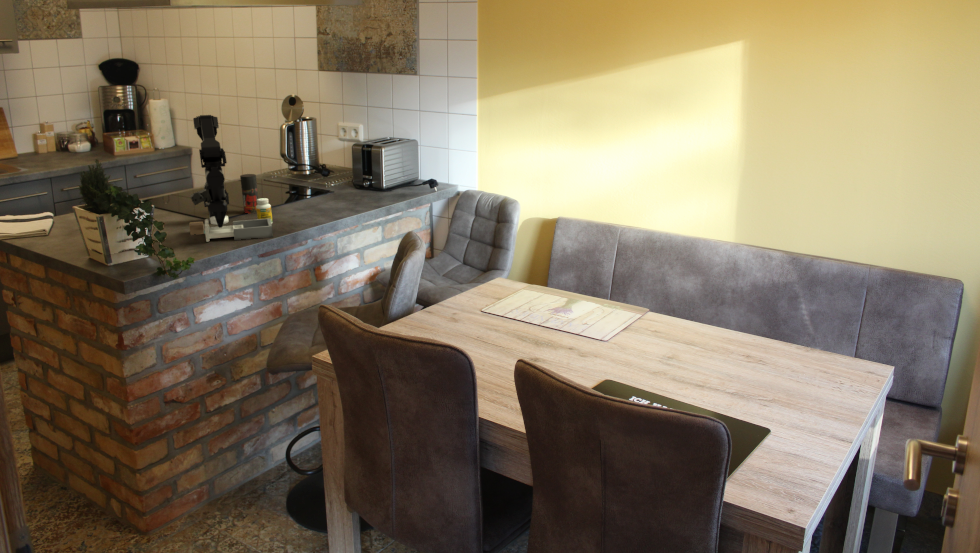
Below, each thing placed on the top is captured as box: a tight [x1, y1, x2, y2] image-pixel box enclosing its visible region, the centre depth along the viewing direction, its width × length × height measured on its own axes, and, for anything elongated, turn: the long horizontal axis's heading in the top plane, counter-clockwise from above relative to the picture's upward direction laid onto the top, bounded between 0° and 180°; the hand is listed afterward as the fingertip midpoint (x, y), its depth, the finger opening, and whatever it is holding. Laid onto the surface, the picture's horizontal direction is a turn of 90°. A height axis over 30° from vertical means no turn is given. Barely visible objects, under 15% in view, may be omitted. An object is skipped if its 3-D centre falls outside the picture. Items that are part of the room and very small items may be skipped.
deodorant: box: [240, 173, 259, 215], centre depth 291 cm, size 6×6×15 cm
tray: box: [203, 218, 243, 242], centre depth 258 cm, size 12×13×5 cm
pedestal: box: [188, 221, 205, 236], centre depth 263 cm, size 4×4×4 cm
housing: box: [232, 218, 274, 241], centre depth 261 cm, size 12×13×4 cm
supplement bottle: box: [256, 197, 274, 225], centre depth 274 cm, size 5×5×10 cm
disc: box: [209, 215, 229, 226], centre depth 256 cm, size 6×6×2 cm
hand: (220, 225), depth 257 cm, fingers closed on disc, 6 cm apart
